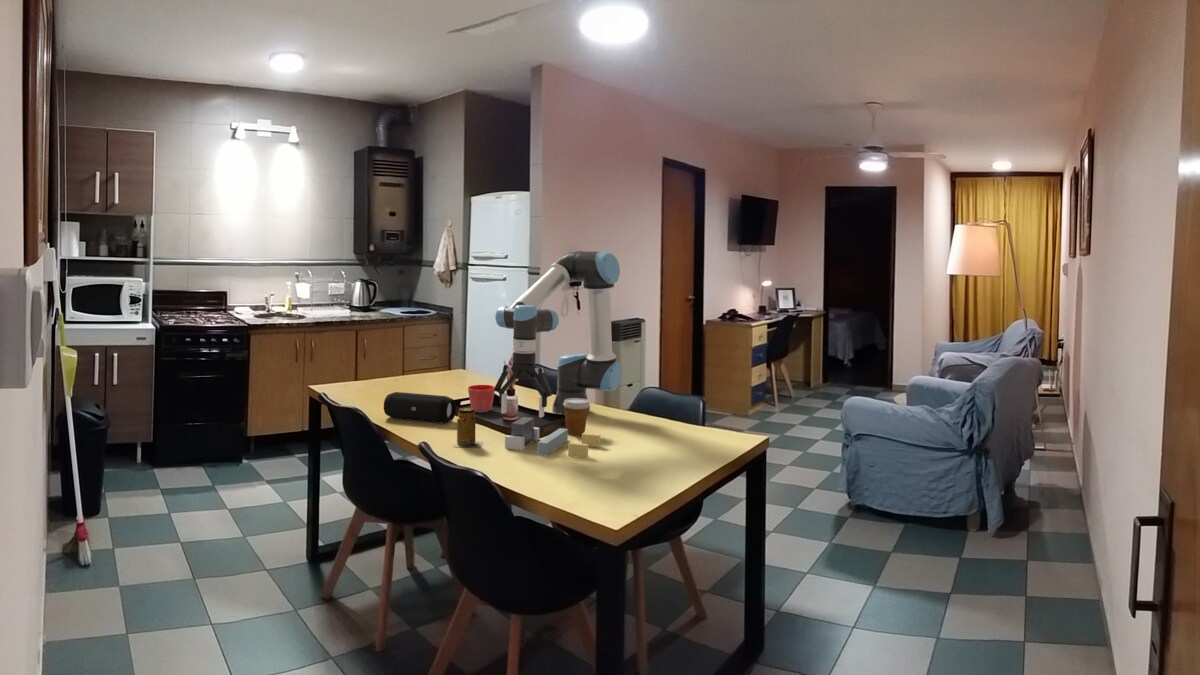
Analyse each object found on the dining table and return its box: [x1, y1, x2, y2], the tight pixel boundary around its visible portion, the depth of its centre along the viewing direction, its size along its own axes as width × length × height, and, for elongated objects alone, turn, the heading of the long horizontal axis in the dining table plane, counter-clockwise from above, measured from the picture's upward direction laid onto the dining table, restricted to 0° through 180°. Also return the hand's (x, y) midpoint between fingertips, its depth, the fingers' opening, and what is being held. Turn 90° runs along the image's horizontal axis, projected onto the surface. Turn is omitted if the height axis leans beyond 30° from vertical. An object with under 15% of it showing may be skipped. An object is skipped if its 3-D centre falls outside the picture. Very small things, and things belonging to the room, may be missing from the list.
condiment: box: [453, 407, 484, 448], centre depth 250 cm, size 7×8×12 cm
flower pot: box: [467, 384, 496, 411], centre depth 299 cm, size 11×11×10 cm
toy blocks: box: [504, 426, 601, 459], centre depth 250 cm, size 20×28×4 cm
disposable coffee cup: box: [563, 398, 591, 437], centre depth 268 cm, size 10×10×12 cm
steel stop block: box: [510, 416, 535, 448], centre depth 253 cm, size 10×4×8 cm, turn 163°
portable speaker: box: [383, 391, 457, 424], centre depth 281 cm, size 26×10×10 cm, turn 76°
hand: (522, 414), depth 252 cm, fingers open, 13 cm apart
